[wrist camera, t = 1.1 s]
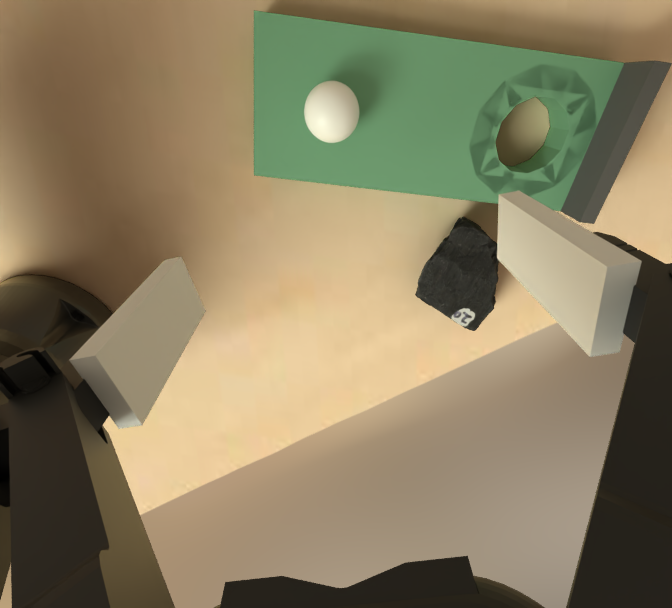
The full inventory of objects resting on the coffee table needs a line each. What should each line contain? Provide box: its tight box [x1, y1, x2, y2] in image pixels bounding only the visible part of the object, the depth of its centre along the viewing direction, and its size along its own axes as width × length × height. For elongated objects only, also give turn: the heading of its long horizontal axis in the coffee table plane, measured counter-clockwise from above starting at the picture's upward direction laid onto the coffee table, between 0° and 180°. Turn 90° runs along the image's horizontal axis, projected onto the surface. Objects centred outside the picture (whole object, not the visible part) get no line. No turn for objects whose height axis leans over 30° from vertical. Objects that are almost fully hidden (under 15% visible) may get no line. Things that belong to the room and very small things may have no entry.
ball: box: [304, 81, 359, 143], centre depth 27 cm, size 4×4×4 cm
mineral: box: [415, 217, 499, 331], centre depth 36 cm, size 10×9×6 cm
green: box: [254, 11, 672, 224], centre depth 29 cm, size 28×11×6 cm, turn 84°
